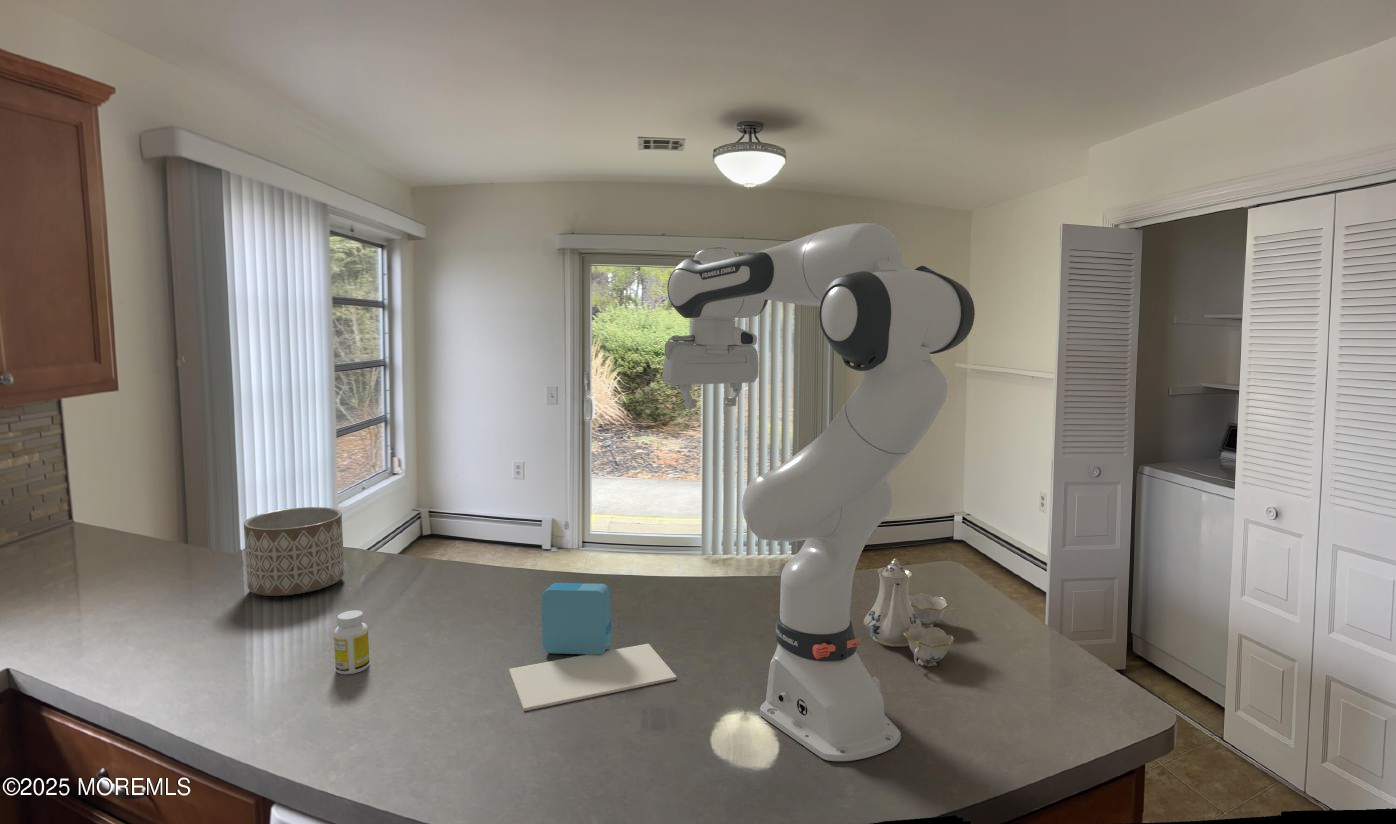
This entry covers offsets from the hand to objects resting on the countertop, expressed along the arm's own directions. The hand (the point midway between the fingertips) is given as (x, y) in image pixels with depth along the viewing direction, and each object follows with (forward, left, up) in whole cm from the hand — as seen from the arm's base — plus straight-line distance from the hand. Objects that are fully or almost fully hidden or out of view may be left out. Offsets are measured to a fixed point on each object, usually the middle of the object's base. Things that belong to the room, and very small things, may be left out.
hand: (710, 407), depth 135 cm
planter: (+58, +77, -45) cm, 107 cm away
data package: (+1, +26, -45) cm, 52 cm away
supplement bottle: (+10, +64, -45) cm, 79 cm away
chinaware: (-19, -35, -46) cm, 60 cm away
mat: (-9, +26, -45) cm, 53 cm away
